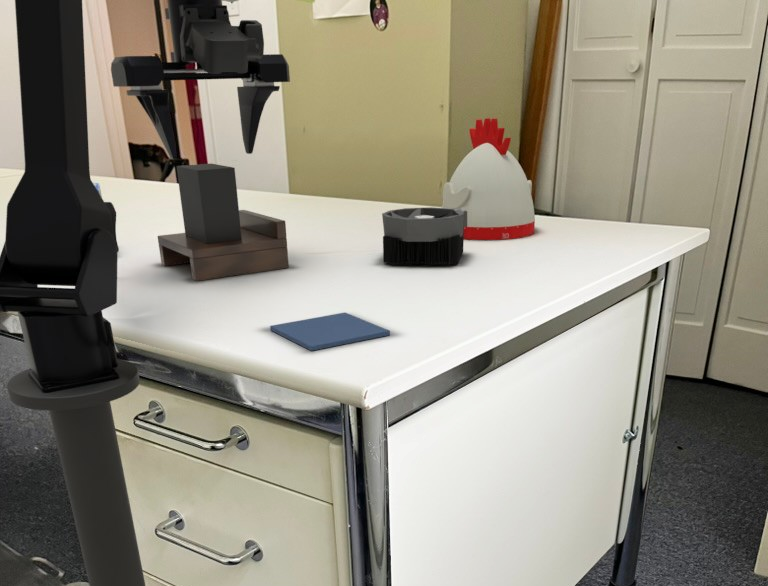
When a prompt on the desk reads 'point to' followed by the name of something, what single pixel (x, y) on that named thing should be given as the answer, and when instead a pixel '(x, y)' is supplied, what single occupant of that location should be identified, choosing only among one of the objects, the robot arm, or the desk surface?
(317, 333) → the rubber mat
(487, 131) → the kitchen timer
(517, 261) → the desk surface
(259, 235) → the desk shelf
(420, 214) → the cpu cooler
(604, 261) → the desk surface
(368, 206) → the desk surface
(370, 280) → the desk surface
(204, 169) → the dark grey block
